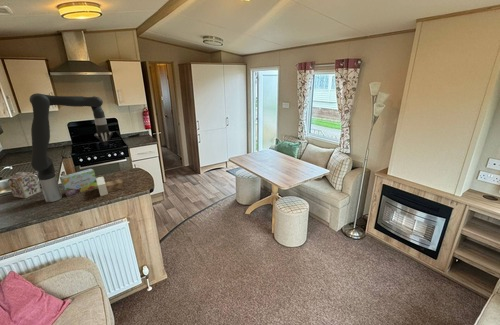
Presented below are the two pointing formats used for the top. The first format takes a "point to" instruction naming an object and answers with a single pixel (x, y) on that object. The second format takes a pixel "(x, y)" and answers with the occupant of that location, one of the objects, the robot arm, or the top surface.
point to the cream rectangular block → (102, 186)
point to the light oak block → (114, 185)
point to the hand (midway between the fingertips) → (106, 145)
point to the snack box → (78, 182)
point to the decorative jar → (24, 184)
